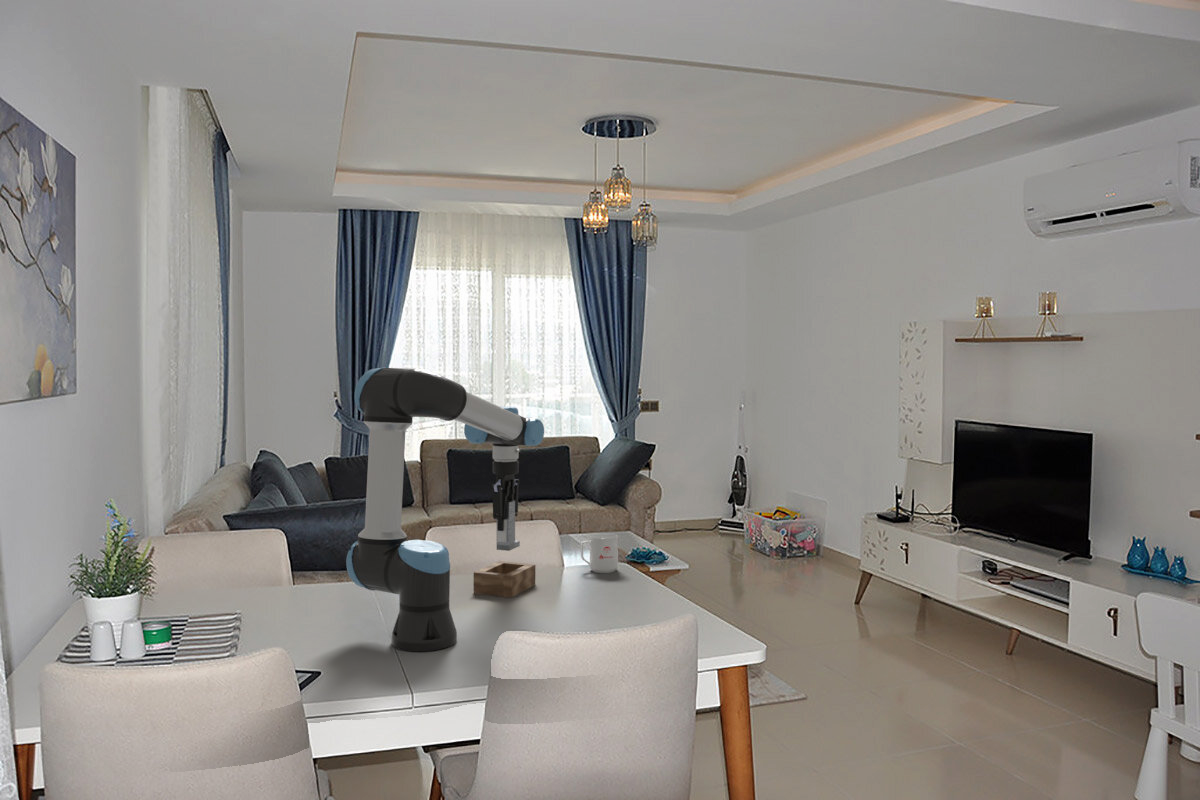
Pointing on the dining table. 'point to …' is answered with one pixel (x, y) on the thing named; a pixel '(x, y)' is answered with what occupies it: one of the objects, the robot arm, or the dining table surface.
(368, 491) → the robot arm
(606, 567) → the mug
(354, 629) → the dining table surface
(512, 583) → the box
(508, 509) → the bracket
